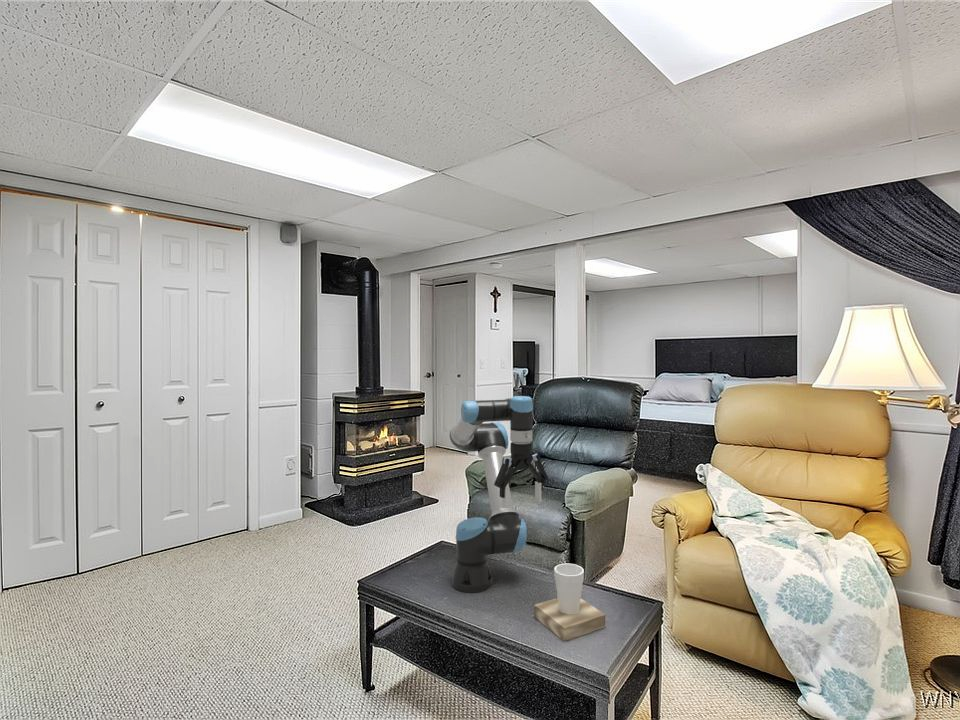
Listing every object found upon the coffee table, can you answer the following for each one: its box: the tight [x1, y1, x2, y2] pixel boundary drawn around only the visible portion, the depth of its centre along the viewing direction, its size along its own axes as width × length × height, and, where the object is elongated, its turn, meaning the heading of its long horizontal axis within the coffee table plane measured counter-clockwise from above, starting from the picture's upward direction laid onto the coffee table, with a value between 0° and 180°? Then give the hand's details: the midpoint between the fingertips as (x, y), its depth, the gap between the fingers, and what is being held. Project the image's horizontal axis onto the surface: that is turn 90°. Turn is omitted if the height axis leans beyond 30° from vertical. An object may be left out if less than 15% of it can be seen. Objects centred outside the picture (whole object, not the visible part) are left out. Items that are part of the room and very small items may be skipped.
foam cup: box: [553, 562, 585, 615], centre depth 167 cm, size 10×9×13 cm
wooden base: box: [533, 597, 606, 642], centre depth 167 cm, size 16×16×4 cm
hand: (521, 503), depth 178 cm, fingers open, 13 cm apart
